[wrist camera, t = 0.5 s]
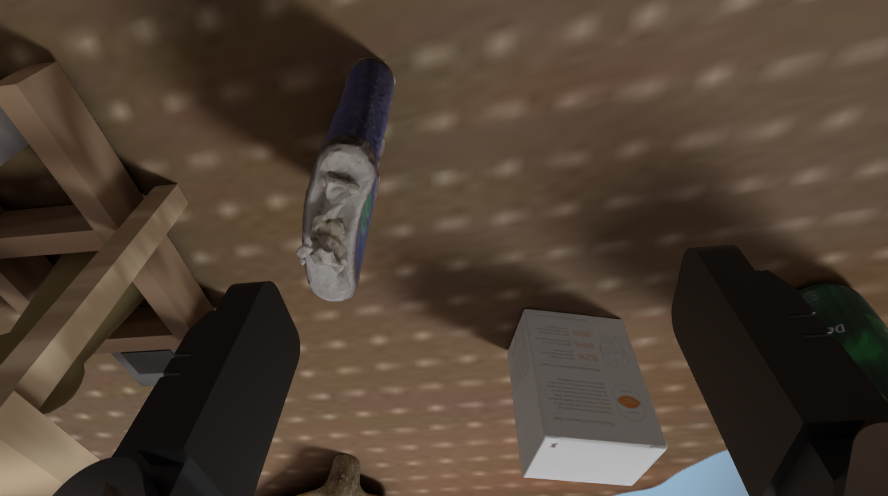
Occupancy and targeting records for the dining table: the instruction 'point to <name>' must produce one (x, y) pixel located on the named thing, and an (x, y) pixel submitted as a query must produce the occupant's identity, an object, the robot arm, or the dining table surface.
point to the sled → (83, 211)
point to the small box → (581, 400)
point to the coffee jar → (853, 328)
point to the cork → (40, 304)
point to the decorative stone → (342, 479)
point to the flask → (346, 182)
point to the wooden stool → (76, 352)
